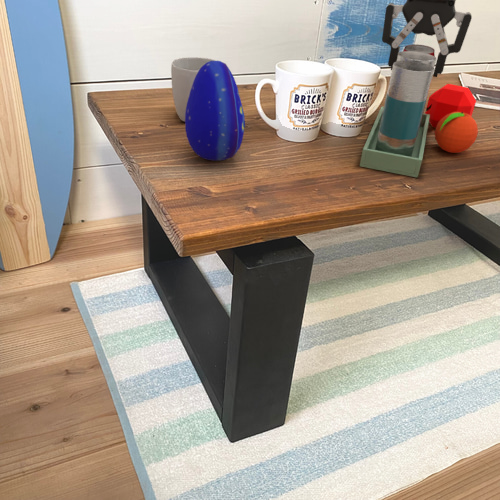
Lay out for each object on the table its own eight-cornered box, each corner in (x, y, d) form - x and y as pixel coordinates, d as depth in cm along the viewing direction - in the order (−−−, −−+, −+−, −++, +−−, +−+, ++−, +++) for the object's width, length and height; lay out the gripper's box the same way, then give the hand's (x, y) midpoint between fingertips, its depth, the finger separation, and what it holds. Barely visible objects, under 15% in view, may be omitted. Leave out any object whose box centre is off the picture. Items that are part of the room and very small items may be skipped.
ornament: (247, 171, 79) (253, 72, 70) (187, 172, 77) (186, 71, 69) (237, 143, 88) (242, 52, 79) (183, 143, 86) (182, 50, 78)
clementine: (448, 163, 86) (461, 122, 82) (417, 148, 91) (428, 108, 87) (479, 155, 90) (492, 115, 86) (448, 141, 94) (459, 103, 90)
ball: (429, 116, 105) (439, 79, 101) (469, 125, 102) (481, 87, 98) (419, 127, 99) (429, 88, 95) (460, 137, 96) (473, 97, 92)
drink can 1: (415, 140, 92) (437, 54, 84) (412, 153, 87) (435, 62, 79) (381, 134, 94) (399, 49, 85) (376, 146, 89) (395, 57, 80)
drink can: (412, 155, 87) (435, 64, 78) (409, 169, 82) (433, 73, 73) (376, 148, 88) (395, 58, 80) (371, 161, 83) (390, 67, 75)
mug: (227, 124, 95) (229, 69, 89) (180, 129, 91) (179, 71, 86) (204, 102, 104) (205, 51, 98) (161, 105, 101) (159, 52, 95)
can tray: (426, 129, 99) (430, 114, 97) (417, 177, 81) (422, 160, 79) (378, 121, 101) (381, 106, 99) (359, 166, 83) (362, 149, 81)
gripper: (390, -38, 79) (370, 71, 89) (488, -28, 76) (455, 84, 85) (396, -41, 85) (376, 62, 95) (486, -32, 82) (456, 73, 91)
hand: (414, 72), depth 90 cm, fingers open, 6 cm apart
